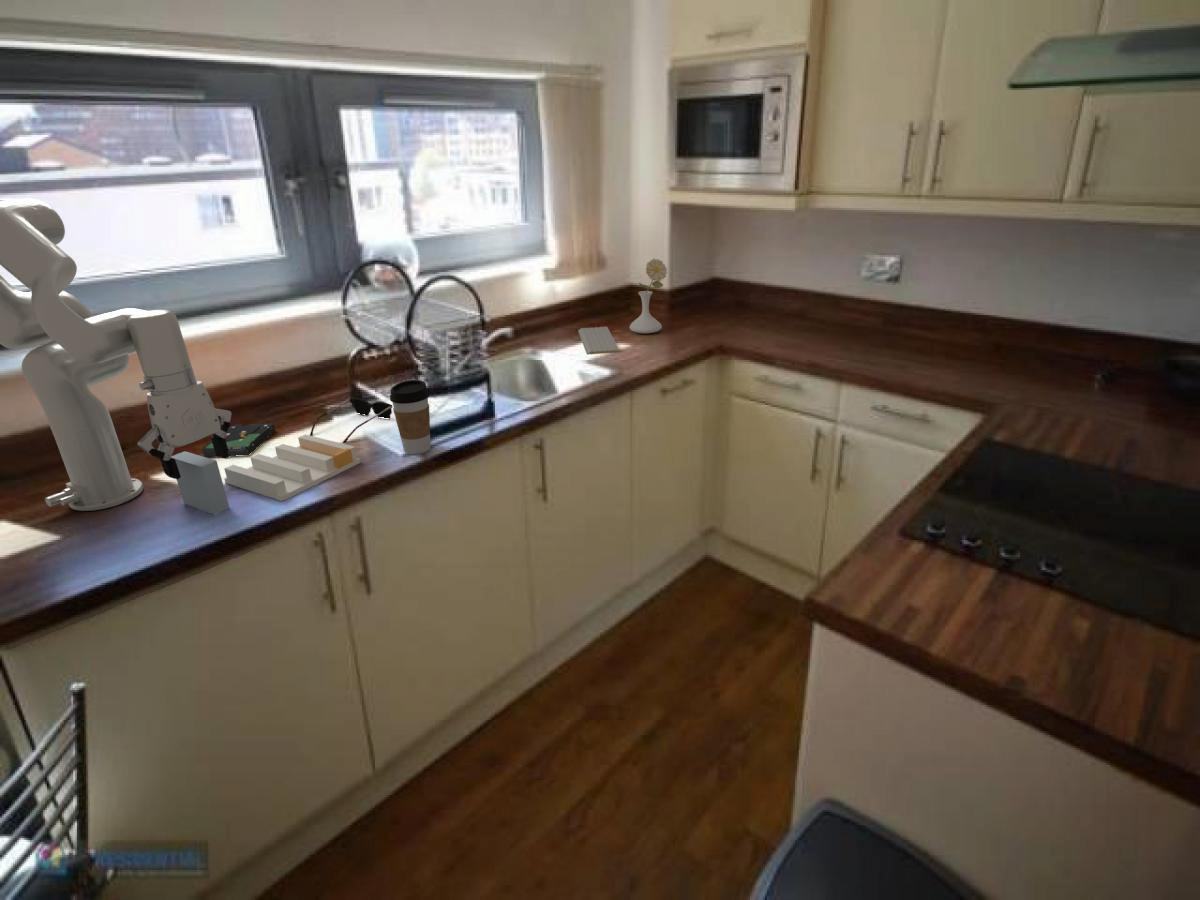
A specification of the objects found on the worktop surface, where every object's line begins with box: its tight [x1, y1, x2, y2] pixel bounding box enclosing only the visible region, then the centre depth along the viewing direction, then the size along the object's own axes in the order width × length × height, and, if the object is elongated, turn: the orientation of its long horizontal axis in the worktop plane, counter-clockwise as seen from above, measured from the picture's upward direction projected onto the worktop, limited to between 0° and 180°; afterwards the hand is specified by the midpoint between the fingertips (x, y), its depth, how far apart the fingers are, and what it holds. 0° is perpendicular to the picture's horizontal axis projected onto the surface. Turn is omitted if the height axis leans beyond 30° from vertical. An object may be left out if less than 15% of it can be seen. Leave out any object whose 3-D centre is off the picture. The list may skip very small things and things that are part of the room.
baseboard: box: [575, 323, 620, 355], centre depth 239 cm, size 31×3×12 cm
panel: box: [171, 451, 231, 515], centre depth 135 cm, size 3×10×10 cm, turn 60°
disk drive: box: [201, 422, 276, 458], centre depth 165 cm, size 10×3×15 cm
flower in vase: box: [629, 258, 668, 334], centre depth 243 cm, size 13×11×25 cm
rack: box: [223, 434, 362, 502], centre depth 149 cm, size 20×18×4 cm
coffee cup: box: [389, 379, 432, 455], centre depth 156 cm, size 8×8×15 cm
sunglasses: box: [309, 397, 393, 444], centre depth 172 cm, size 14×16×5 cm
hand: (199, 467), depth 133 cm, fingers open, 9 cm apart
